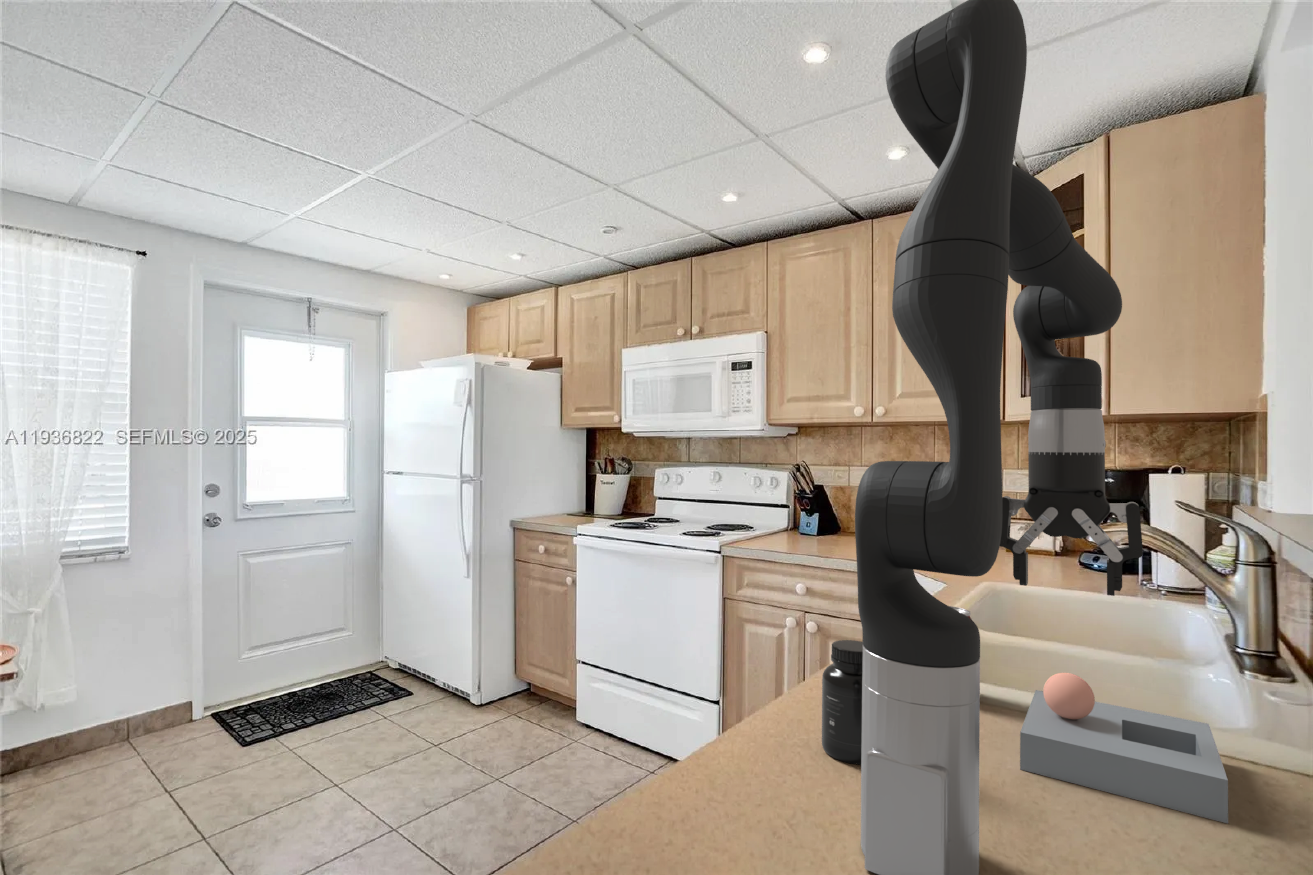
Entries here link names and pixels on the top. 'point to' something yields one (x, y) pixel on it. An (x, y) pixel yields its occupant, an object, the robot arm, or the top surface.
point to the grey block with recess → (1129, 756)
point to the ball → (1069, 696)
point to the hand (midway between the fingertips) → (1066, 589)
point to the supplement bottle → (843, 702)
